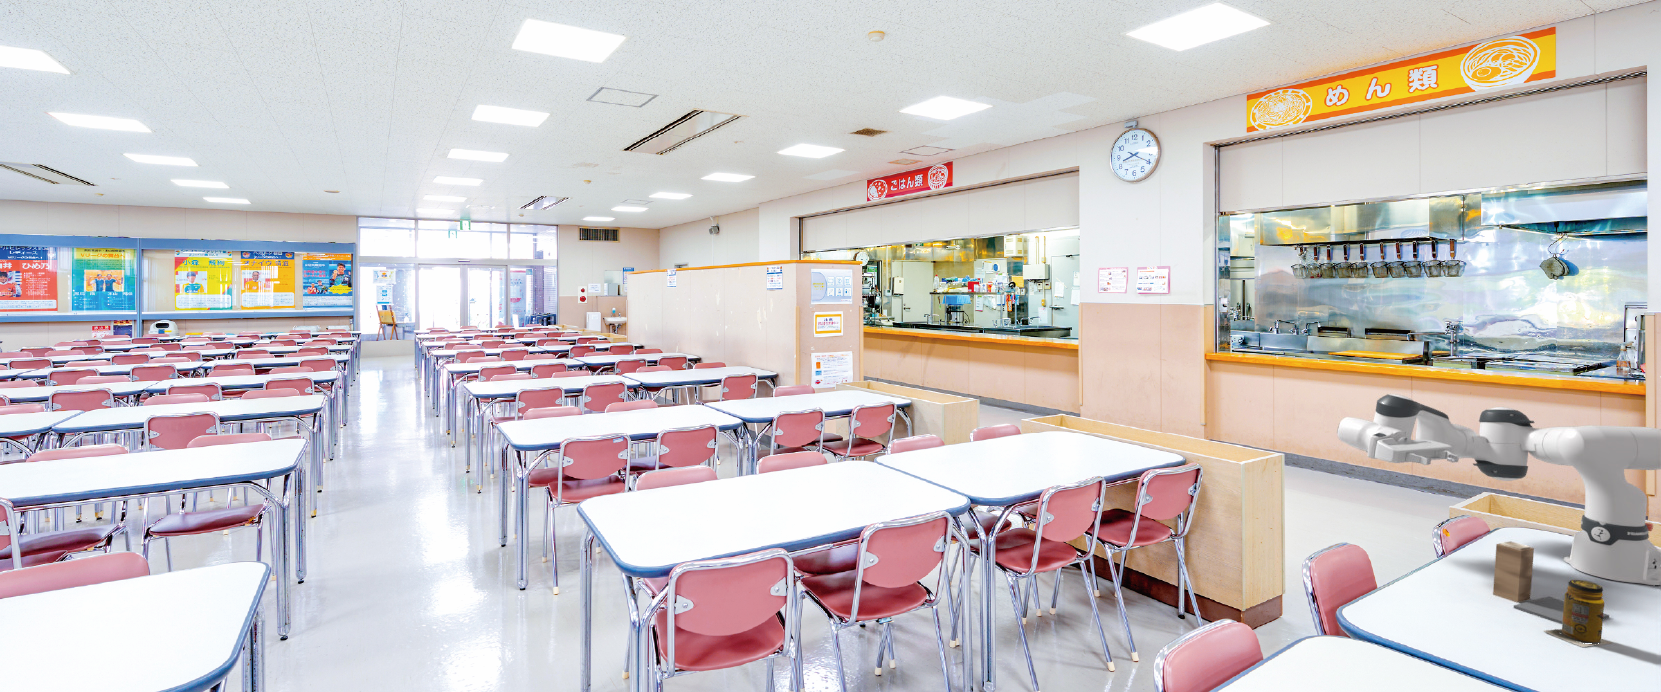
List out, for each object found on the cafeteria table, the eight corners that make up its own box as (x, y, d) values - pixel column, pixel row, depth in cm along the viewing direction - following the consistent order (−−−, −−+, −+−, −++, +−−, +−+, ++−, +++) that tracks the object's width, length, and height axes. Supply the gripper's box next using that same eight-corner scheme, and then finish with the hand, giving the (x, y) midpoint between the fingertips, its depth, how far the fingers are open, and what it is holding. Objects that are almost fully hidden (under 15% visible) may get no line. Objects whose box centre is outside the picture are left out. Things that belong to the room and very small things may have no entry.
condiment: (1612, 643, 159) (1617, 588, 158) (1582, 647, 158) (1587, 592, 157) (1571, 628, 167) (1576, 575, 166) (1542, 632, 165) (1546, 579, 164)
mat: (1549, 598, 182) (1549, 596, 182) (1609, 617, 172) (1609, 615, 171) (1513, 607, 177) (1513, 605, 177) (1573, 627, 167) (1573, 625, 167)
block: (1505, 591, 186) (1509, 540, 185) (1530, 599, 182) (1534, 546, 181) (1492, 594, 184) (1496, 542, 183) (1517, 602, 180) (1521, 549, 179)
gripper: (1420, 452, 215) (1470, 469, 202) (1362, 457, 210) (1410, 474, 197) (1423, 431, 214) (1475, 447, 200) (1366, 435, 209) (1414, 451, 196)
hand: (1442, 460), depth 199 cm, fingers open, 8 cm apart
